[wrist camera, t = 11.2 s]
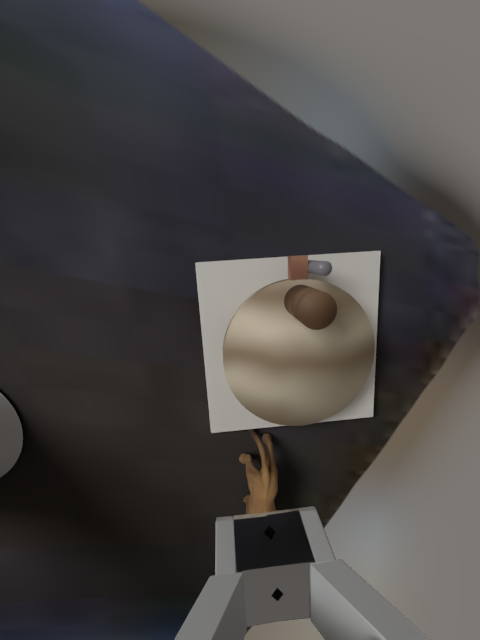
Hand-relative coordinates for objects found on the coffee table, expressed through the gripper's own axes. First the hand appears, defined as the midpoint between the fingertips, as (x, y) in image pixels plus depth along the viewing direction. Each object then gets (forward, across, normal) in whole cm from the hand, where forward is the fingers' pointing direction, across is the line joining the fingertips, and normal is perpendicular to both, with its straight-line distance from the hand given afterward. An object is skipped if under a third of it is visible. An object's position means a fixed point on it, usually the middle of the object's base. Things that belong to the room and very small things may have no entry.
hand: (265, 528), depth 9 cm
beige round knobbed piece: (+21, -7, +1) cm, 22 cm away
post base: (+24, -6, +2) cm, 25 cm away
